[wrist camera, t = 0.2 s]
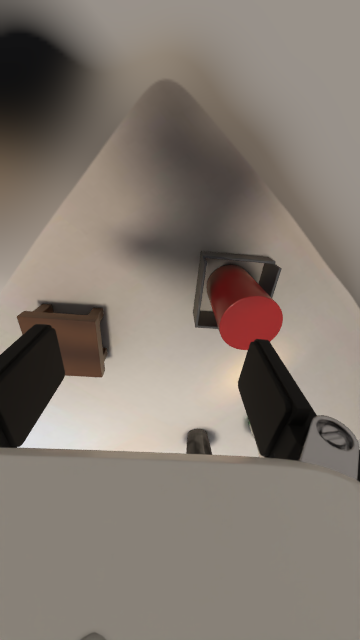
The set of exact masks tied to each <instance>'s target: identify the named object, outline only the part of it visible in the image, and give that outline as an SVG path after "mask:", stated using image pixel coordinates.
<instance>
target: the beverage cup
mask: <svg viewBox="0 0 360 640" xmlns="http://www.w3.org/2000/svg"><path fill="white" fill-rule="evenodd" d="M187 454H203V455H212V452H211V448H210V443H209V439H208V436H207V432H206V431H204V430H202V429H194V430H191V431H190V432H189V433H188V438H187Z"/></svg>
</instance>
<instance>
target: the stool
mask: <svg viewBox="0 0 360 640" xmlns="http://www.w3.org/2000/svg"><path fill="white" fill-rule="evenodd" d="M103 316H104V315H103V308H93V309H92V310H91V312H90V313H89V314H88V315H75V314H61V313H53V308H52V305H50V304H42V305H41V306H39V307H38V308H37V309H35V310H34V311H33V312H31V311H24V312H22V313H21V314H19V315H18V316H17V319H18V322H19V325H20V328H21V331H22V334H24V333H26V332H27V331H28V330H29V329H30V328H31V327H32V326H33V325H35V324H47V325H51V327H52V328H54V329H55V330H56V334H57V338H58V343H59V347H60V352H61V356H62V360H63V365H64V369H65V375H67V376H86V377H102V376H103V374H104V371H105V366H104V361H105V359H106V356H107V348H102V340H101V331H100V321H101V319H102V318H103Z"/></svg>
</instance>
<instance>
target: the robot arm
mask: <svg viewBox="0 0 360 640" xmlns="http://www.w3.org/2000/svg"><path fill="white" fill-rule="evenodd" d="M64 376H65V369H64V365H63V360H62V356H61V352H60V347H59V343H58V338H57V334H56V330H55V329H54V328H52V327H51V325H47V324H35V325H33V326H32V327H31V328H30V329H29V330H28V331H27V332H26V333H24V334H23V335H22V336H21V337H20V338H19V339H18V340H17V341H15V342H14V343H13V344H12V345H11V346H10V347H9V348H8V349H6V350H5V351H4V352H3V353H2V354H1V355H0V640H360V450H359V443H358V441H357V439H356V437H355V435H354V434H353V433H352V432H351V430H350V429H349V428H347V427H346V426H345V425H344V424H342V423H341V422H339V421H338V420H336V419H334V418H331V417H328V416H324V415H321V416H317V415H316V414H315V412H314V410H313V409H312V407H311V406H310V404H309V402H308V401H307V399H306V398H305V396H304V395H303V393H302V392H301V390H300V388H299V387H298V385H297V384H296V382H295V381H294V379H293V378H292V376H291V374H290V373H289V371H288V370H287V368H286V367H285V365H284V364H283V362H282V361H281V359H280V357H279V356H278V354H277V353H276V351H275V350H274V348H273V347H272V345H271V343H270V342H269V341H268V340H265V339H255V340H254V342H251V343H250V345H249V348H248V352H247V355H246V358H245V361H244V365H243V368H242V371H241V374H240V378H239V381H238V388H239V391H240V394H241V397H242V401H243V404H244V407H245V410H246V413H247V416H248V419H249V422H250V425H251V428H252V431H253V434H254V438H255V441H256V444H257V447H258V450H259V453H260V454H261V455H262V456H264V458H262V457H245V456H226V455H203V454H180V453H154V452H128V451H101V450H71V449H40V448H17V447H19V446H21V445H22V444H23V443H24V441H25V440H26V438H27V436H28V435H29V433H30V432H31V430H32V428H33V427H34V425H35V424H36V422H37V420H38V419H39V417H40V416H41V414H42V412H43V411H44V409H45V408H46V406H47V404H48V403H49V401H50V400H51V398H52V396H53V395H54V393H55V392H56V390H57V388H58V387H59V385H60V384H61V382H62V380H63V379H64Z"/></svg>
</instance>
